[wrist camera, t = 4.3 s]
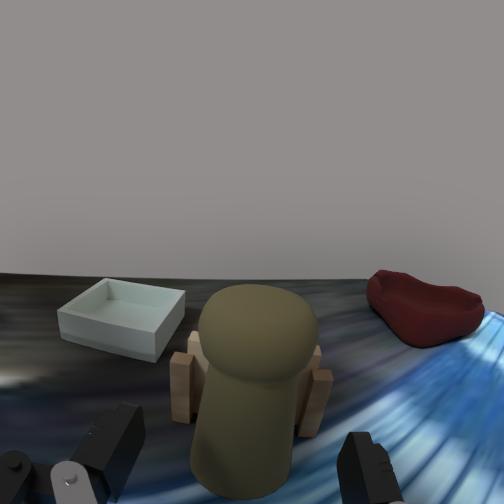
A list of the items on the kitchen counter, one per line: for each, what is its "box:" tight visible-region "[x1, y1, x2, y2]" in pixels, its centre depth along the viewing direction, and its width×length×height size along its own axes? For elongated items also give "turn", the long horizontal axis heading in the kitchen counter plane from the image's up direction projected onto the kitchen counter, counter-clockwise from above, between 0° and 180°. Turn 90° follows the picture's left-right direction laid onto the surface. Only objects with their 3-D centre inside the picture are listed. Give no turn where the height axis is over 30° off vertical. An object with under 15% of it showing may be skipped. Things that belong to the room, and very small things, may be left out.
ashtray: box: [366, 270, 485, 348], centre depth 36 cm, size 18×16×5 cm
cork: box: [189, 284, 319, 500], centre depth 14 cm, size 6×6×11 cm
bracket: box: [170, 331, 334, 438], centre depth 20 cm, size 10×5×9 cm, turn 87°
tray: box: [57, 278, 185, 363], centre depth 29 cm, size 10×10×3 cm
